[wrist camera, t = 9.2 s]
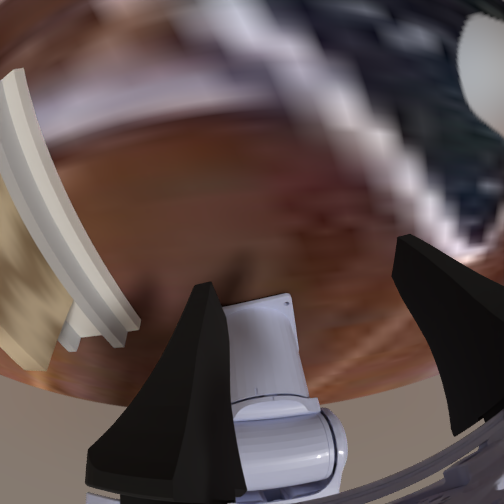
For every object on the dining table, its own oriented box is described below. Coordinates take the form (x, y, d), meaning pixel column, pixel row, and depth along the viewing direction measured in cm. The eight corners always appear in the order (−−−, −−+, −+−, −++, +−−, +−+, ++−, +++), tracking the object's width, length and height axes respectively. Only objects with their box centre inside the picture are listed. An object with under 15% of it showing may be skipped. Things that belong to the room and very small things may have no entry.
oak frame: (77, 292, 20) (46, 371, 13) (54, 297, 20) (24, 370, 13) (7, 167, 13) (-65, 228, 6) (-13, 183, 13) (-76, 242, 6)
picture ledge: (141, 320, 24) (136, 345, 22) (68, 330, 24) (61, 352, 22) (23, 68, 10) (-4, 72, 7) (-43, 133, 10) (-64, 146, 8)
